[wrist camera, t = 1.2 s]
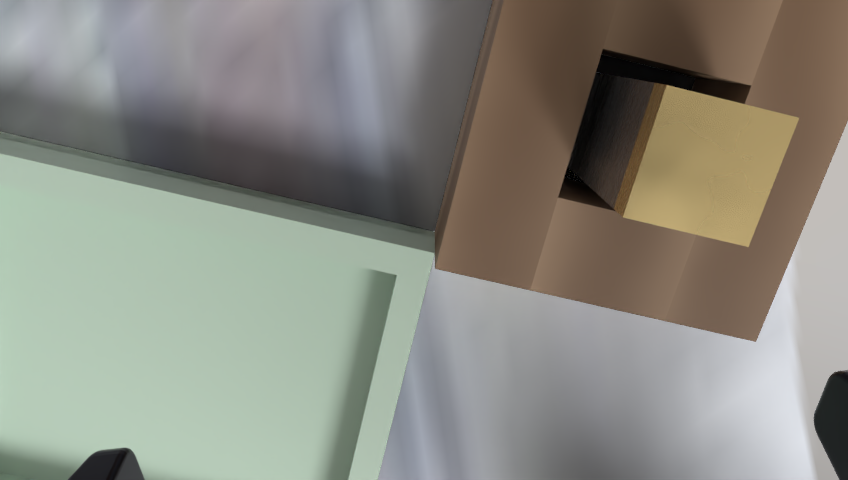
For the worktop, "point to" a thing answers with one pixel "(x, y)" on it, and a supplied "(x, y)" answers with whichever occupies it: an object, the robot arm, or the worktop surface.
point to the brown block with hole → (582, 207)
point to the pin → (680, 156)
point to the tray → (195, 323)
